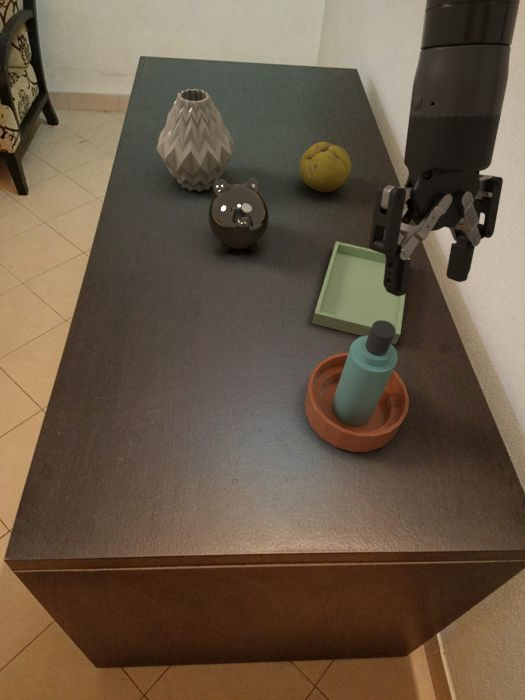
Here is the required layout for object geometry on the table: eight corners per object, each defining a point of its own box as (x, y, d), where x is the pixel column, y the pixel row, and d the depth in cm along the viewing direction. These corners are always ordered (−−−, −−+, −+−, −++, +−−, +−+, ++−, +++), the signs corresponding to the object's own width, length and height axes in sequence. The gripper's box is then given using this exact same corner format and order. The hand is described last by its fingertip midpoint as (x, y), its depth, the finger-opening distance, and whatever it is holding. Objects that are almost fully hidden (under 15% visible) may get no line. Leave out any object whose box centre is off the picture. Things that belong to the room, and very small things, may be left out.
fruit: (343, 176, 111) (352, 135, 103) (347, 205, 103) (357, 162, 96) (296, 173, 110) (302, 131, 103) (297, 201, 103) (303, 158, 95)
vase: (177, 157, 111) (170, 72, 97) (242, 171, 109) (246, 87, 95) (148, 193, 101) (136, 104, 87) (219, 209, 99) (219, 121, 85)
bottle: (374, 397, 70) (411, 317, 57) (369, 431, 67) (407, 353, 53) (335, 387, 71) (362, 305, 58) (328, 419, 67) (355, 340, 54)
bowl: (402, 386, 73) (412, 366, 69) (393, 466, 64) (404, 448, 60) (314, 363, 75) (319, 342, 71) (294, 437, 66) (298, 419, 62)
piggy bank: (259, 217, 98) (263, 166, 89) (271, 264, 89) (276, 212, 80) (206, 219, 97) (204, 167, 88) (212, 267, 87) (211, 215, 78)
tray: (406, 268, 91) (410, 258, 89) (395, 344, 78) (400, 334, 76) (333, 251, 93) (336, 241, 91) (312, 323, 80) (314, 312, 78)
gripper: (426, 112, 35) (399, 312, 43) (546, 109, 41) (504, 285, 48) (362, 111, 41) (348, 287, 48) (475, 109, 47) (448, 266, 54)
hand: (426, 286), depth 48 cm, fingers open, 8 cm apart
